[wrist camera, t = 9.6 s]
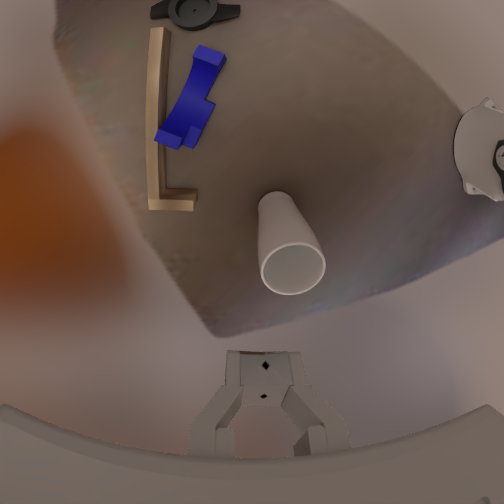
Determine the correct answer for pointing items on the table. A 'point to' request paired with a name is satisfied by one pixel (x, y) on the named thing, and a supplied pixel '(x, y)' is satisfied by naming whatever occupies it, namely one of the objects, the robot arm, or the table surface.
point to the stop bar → (154, 120)
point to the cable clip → (192, 102)
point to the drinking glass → (287, 247)
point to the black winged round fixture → (182, 12)
